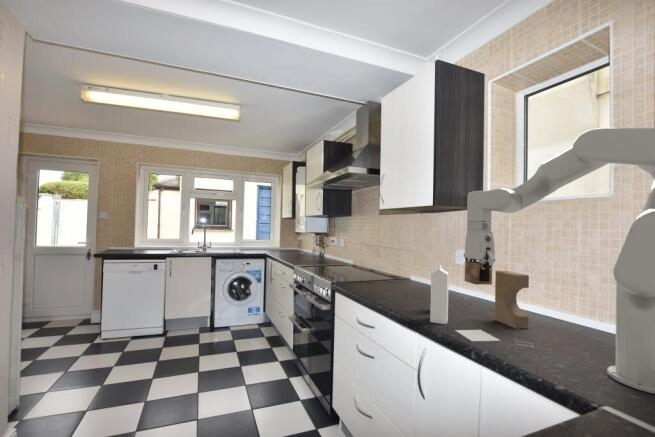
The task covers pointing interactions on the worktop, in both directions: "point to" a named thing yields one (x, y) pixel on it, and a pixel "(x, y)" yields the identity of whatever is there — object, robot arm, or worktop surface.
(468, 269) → the walnut block
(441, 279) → the milk
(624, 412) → the worktop surface
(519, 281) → the decorative block
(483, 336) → the grey mat
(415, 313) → the worktop surface
